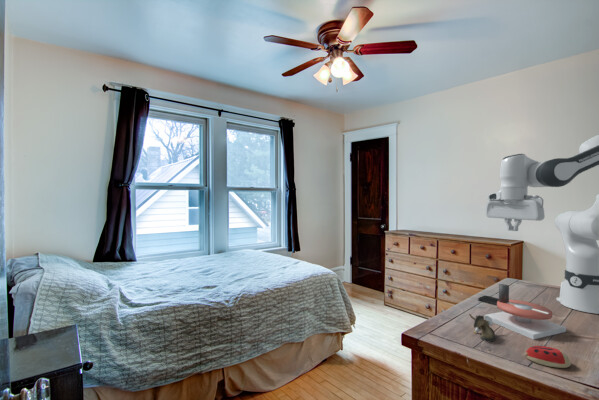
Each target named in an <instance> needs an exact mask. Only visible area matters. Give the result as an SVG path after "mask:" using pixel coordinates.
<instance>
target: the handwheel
mask: <svg viewBox="0 0 599 400" xmlns="http://www.w3.org/2000/svg"><path fill="white" fill-rule="evenodd" d="M498 299H499V301H498V302H497V306H496V307H497V308H498V309H499V310H500V311H501V312H506V313H509V314H512V315H515V316H519V317H523V318H528V319H537V320H551V319H552V318H553V311H552V310H551V309H549V308H548V307H545V306H544V305H543V306H542V305H540V304H538V303H534V302H529V301H523V300H520V299H510V285H508V284H505V283H504V284H503V283H499V284H498Z"/></svg>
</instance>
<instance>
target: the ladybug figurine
mask: <svg viewBox="0 0 599 400" xmlns="http://www.w3.org/2000/svg"><path fill="white" fill-rule="evenodd" d="M524 356H525V357H526V358H527V359H528V360H530V361H531V362H533V363H536V364H538V365H541V366H546V367H550V368H556V369H557V368H559V369H565V368H569V367H571V365H572V364H571V361H570V358H569V356H568V355H567V354H566V353H565V352H563V350H560V349H558V348H555V347H552V346H551V347H550V346H545V345H533V346H529V348H527V350H526V351H525V352H524Z"/></svg>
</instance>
